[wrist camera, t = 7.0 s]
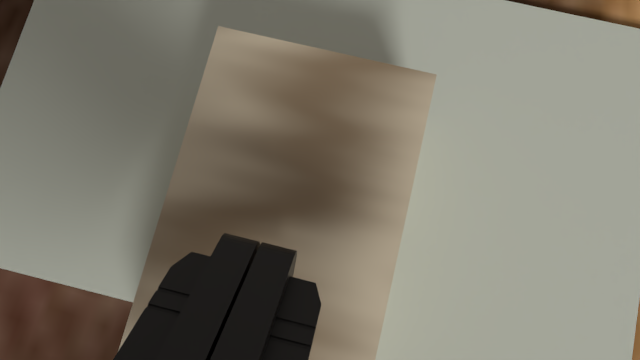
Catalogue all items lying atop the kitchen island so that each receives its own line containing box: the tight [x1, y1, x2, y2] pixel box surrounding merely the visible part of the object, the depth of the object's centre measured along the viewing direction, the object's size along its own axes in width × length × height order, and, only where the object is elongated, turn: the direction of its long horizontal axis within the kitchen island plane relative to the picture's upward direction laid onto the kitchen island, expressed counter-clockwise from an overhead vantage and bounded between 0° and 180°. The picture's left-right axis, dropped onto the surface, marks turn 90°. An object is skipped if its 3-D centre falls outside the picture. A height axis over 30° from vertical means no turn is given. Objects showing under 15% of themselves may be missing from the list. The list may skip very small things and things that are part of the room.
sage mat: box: [0, 0, 640, 360], centre depth 19 cm, size 22×13×1 cm, turn 76°
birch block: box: [118, 26, 437, 360], centre depth 16 cm, size 6×4×10 cm
